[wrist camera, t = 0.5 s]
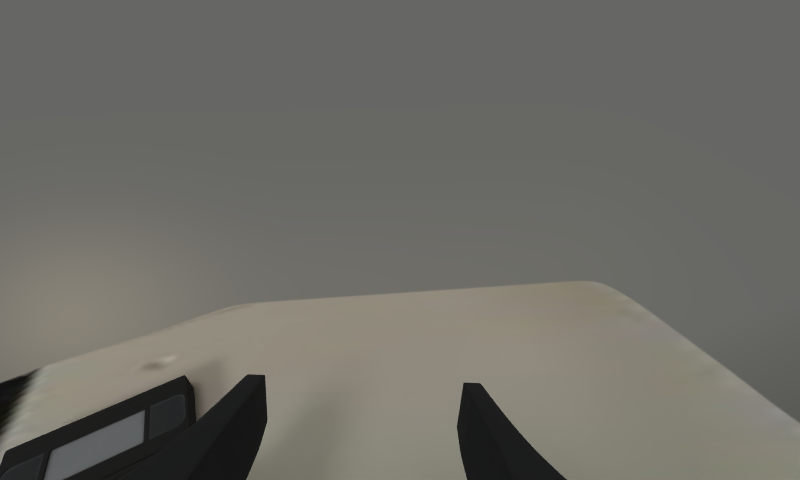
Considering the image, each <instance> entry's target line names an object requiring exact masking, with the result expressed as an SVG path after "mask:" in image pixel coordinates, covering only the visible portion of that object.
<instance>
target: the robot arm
mask: <svg viewBox="0 0 800 480" xmlns="http://www.w3.org/2000/svg"><path fill="white" fill-rule="evenodd" d="M266 424H267V405H266V386H265V375H246V376H245V377H244V378H243V379H242V380H241V381H240V382H239V383H238V384H237V385H236V386H235V387H234V388H233V389H232V390H230V391H229V392H228V393H227V394H226V395H225V396H224V397H223V398H222V399H221V400H220V401H219V402H218V403H217V404H216V405H214V406H213V407H212V408H211V409H210V410H209V411H208V412H207V413H206V414H204V415H203V416H202V417H201V418H200V419H199V420H198V421H197V422H195V423H194V424H193V425H192V426H191V427H189V428H188V429H187V430H186V431H185V432H183V433H182V434H181V435H180V436H179V437H177V438H176V439H175V440H174V441H172V442H171V443H170V444H168V445H167V446H166V447H164V448H163V449H162V450H160V451H159V452H158V453H156V454H155V455H153V456H152V457H151V458H149V459H148V460H146V461H145V462H143V463H142V464H141V465H139V466H137V467H136V468H134V469H133V470H131V471H130V472H128V473H127V474H125V475H123V476H122V477H120V478H119V479H117V480H246V478H247V476H248V474H249V471H250V469H251V467H252V464H253V462H254V460H255V457H256V455H257V452H258V450H259V447H260V444H261V440H262V437H263V434H264V430H265V427H266ZM457 431H458V438H459V445H460V451H461V457H462V461H463V465H464V469H465V473H466V477H467V480H567V479H565V478H564V477H563V476H562V475H561V474H560V473H559V472H558V471H557V470H555V469H554V468H553V467H552V466H551V465H550V464H549V463H548V462H547V461H546V460H545V459H544V458H543V457H542V456H541V455H540V454H539V453H538V452H537V451H536V450H535V449H534V448H533V447H532V446H531V445H530V444H529V443H528V442H527V441H526V439H525V438H524V437H523V436H522V435H521V434H520V433H519V431H518V430H517V429H516V428H515V427H514V426H513V424H512V423H511V422H510V421H509V420H508V418H507V417H506V416H505V415H504V413H503V412H502V411H501V410H500V408H499V407H498V406H497V405H496V403H495V402H494V401H493V399H492V398H491V397H490V395H489V394H488V393H487V391H486V390H485V389H484V387H483V386H482V385H481V384H480V383H464V384H463V391H462V397H461V404H460V410H459V417H458V423H457Z"/></svg>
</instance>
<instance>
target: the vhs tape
mask: <svg viewBox="0 0 800 480" xmlns="http://www.w3.org/2000/svg"><path fill="white" fill-rule="evenodd" d="M195 422H196V413H195V400H194V389H193V386H192V385H191V383H190V382H189V380H188V379H187V377H186V376H185V375H184V376H181V377H179V378H176V379H174V380H172V381H169V382H167V383H165V384H162V385H160V386H158V387H155V388H153V389H150V390H148V391H146V392H143V393H141V394H139V395H136V396H134V397H132V398H129V399H127V400H125V401H122V402H120V403H118V404H115V405H113V406H110V407H108V408H106V409H103V410H101V411H99V412H96V413H94V414H92V415H89V416H87V417H85V418H82V419H80V420H77V421H75V422H73V423H70V424H68V425H66V426H63V427H61V428H59V429H56V430H54V431H52V432H49V433H47V434H45V435H42V436H40V437H37V438H35V439H33V440H30V441H28V442H26V443H23V444H21V445H19V446H16V447H14V448H12V449H9V450H7V451H6V452H5V454H4V457H3V459H2V462H1V465H0V480H117V479H119V478H120V477H122V476H123V475H125V474H127V473H128V472H130V471H131V470H133V469H134V468H136V467H137V466H139V465H141V464H142V463H143V462H145V461H146V460H148V459H149V458H151V457H152V456H153V455H155V454H156V453H158V452H159V451H160V450H162V449H163V448H164V447H166V446H167V445H168V444H170V443H171V442H172V441H174V440H175V439H176V438H177V437H179V436H180V435H181V434H182V433H183V432H185V431H186V430H187V429H188V428H189V427H191V426H192V425H193V424H194V423H195Z"/></svg>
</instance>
